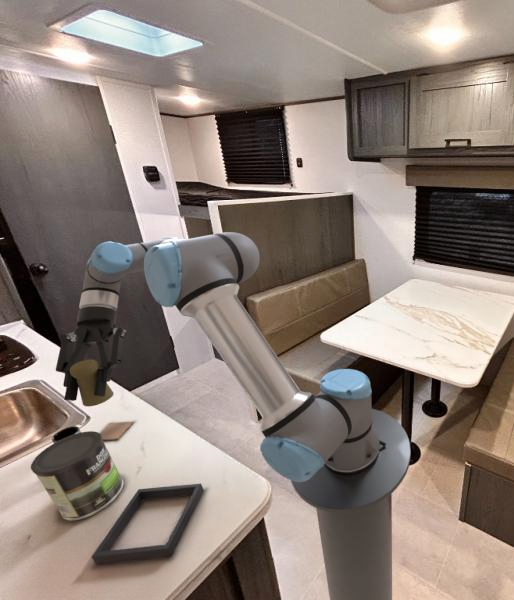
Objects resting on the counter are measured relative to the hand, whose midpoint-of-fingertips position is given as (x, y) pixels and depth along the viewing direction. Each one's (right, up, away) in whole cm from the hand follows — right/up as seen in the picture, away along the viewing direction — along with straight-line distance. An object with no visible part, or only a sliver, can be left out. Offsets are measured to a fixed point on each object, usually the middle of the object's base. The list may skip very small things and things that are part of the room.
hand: (85, 397), depth 77 cm
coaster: (-1, -12, +9) cm, 15 cm away
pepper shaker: (-1, -2, +5) cm, 5 cm away
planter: (0, -16, 0) cm, 17 cm away
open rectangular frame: (+28, -22, -13) cm, 38 cm away
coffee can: (+10, -20, -8) cm, 23 cm away
